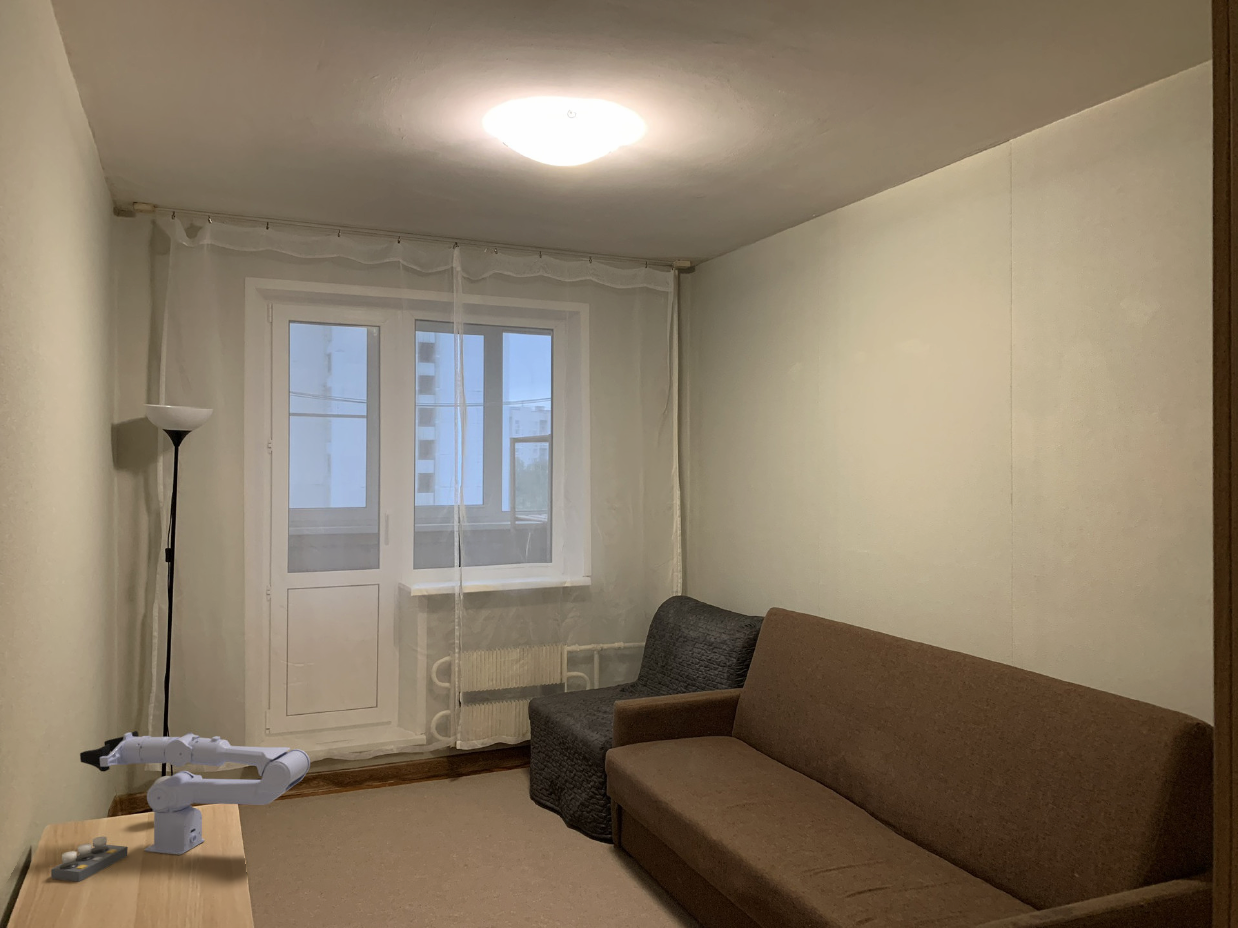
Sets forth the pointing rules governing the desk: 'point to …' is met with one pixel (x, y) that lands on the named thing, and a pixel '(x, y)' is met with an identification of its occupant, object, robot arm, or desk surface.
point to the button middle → (84, 848)
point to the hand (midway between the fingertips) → (93, 751)
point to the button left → (69, 856)
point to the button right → (99, 841)
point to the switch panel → (89, 863)
